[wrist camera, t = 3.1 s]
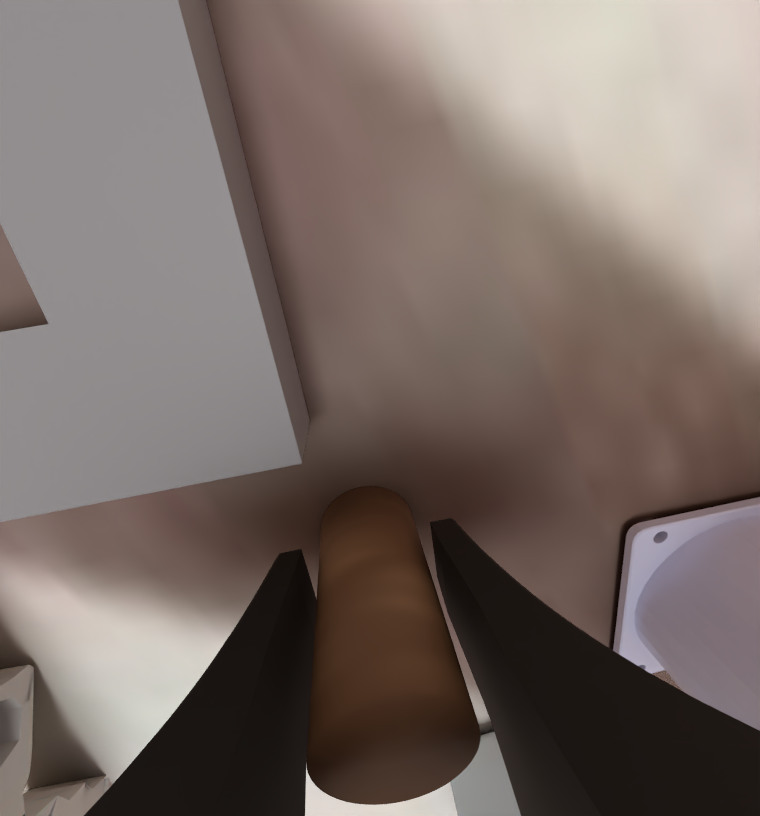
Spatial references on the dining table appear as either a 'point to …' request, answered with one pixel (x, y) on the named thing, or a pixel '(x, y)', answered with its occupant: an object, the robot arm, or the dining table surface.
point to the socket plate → (133, 263)
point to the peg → (382, 661)
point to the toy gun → (11, 758)
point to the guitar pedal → (485, 784)
